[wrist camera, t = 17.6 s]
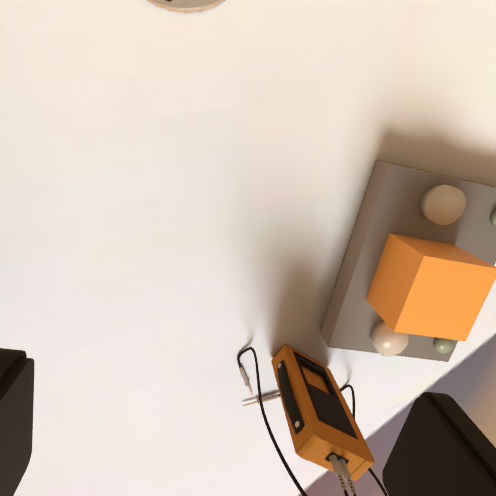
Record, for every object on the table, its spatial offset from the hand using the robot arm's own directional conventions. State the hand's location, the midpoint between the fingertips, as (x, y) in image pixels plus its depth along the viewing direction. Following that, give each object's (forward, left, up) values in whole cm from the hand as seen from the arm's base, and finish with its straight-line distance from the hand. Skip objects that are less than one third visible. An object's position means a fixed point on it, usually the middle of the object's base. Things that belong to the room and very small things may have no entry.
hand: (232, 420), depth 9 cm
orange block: (+4, +21, -25) cm, 33 cm away
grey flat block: (+4, +23, -28) cm, 37 cm away
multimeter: (+22, +13, -28) cm, 38 cm away
